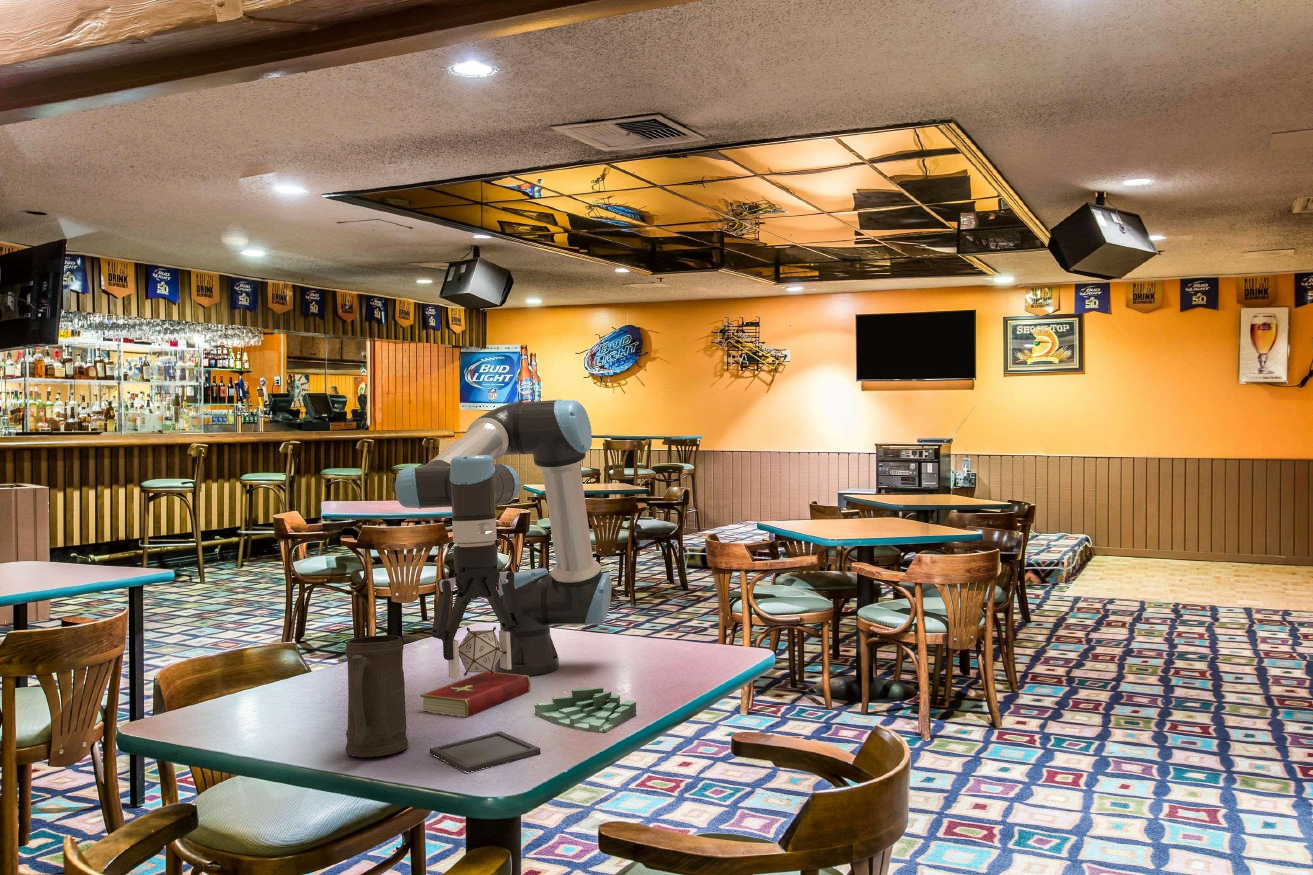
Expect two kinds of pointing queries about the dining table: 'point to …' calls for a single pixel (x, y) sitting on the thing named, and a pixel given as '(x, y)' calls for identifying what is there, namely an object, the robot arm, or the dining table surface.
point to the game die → (480, 651)
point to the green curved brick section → (587, 710)
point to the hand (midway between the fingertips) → (480, 672)
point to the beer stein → (376, 696)
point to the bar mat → (485, 751)
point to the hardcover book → (476, 693)
